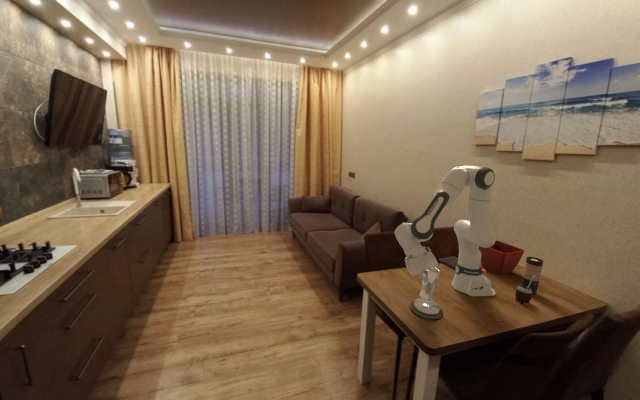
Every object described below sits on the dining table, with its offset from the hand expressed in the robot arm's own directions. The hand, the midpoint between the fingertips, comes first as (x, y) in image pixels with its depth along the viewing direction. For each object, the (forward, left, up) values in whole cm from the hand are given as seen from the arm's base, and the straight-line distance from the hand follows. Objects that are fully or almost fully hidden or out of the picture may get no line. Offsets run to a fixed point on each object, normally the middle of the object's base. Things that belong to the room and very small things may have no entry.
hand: (431, 279), depth 129 cm
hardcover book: (-40, -57, -17) cm, 71 cm away
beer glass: (+1, -1, -10) cm, 10 cm away
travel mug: (-66, -27, -17) cm, 73 cm away
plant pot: (-64, -55, -17) cm, 86 cm away
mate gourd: (-56, -16, -17) cm, 60 cm away
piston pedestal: (0, 0, -17) cm, 17 cm away
